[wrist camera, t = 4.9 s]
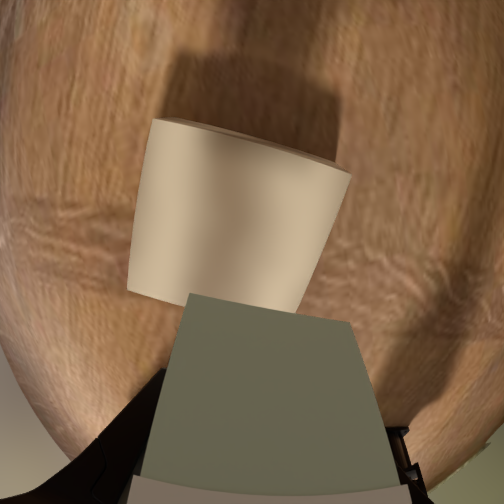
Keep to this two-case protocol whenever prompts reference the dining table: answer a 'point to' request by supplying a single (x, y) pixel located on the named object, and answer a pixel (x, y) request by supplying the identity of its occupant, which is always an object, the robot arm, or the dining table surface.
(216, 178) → the beech box
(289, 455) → the tea tin
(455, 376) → the dining table surface
